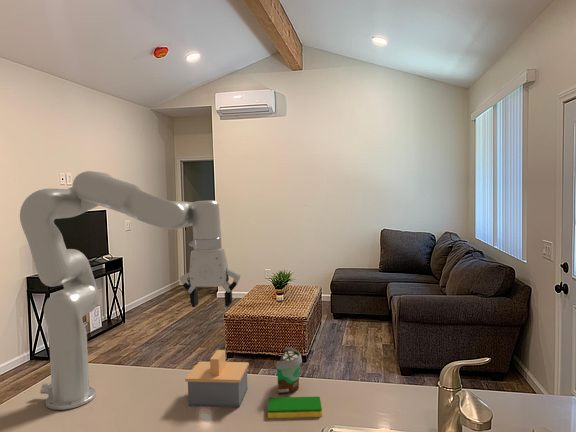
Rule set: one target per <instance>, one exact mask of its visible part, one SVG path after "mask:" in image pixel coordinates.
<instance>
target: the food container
mask: <svg viewBox="0 0 576 432" xmlns="http://www.w3.org/2000/svg"><path fill="white" fill-rule="evenodd" d="M302 362H303V359H302V355H301V352H300V351H299V350H297V349H295V348H292V347H284V352H283V353H282V355H281V356H280V359H279V361H276V372H277V374H276V375H277V390H278V391H277V392H278V393H277V395H278V396H279V395H280V396H283V395H284V396H285V395H291V394H293V393H295V392H297V391H298V390H299V387H300V369H301V368H300V367H301V364H302Z"/></svg>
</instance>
